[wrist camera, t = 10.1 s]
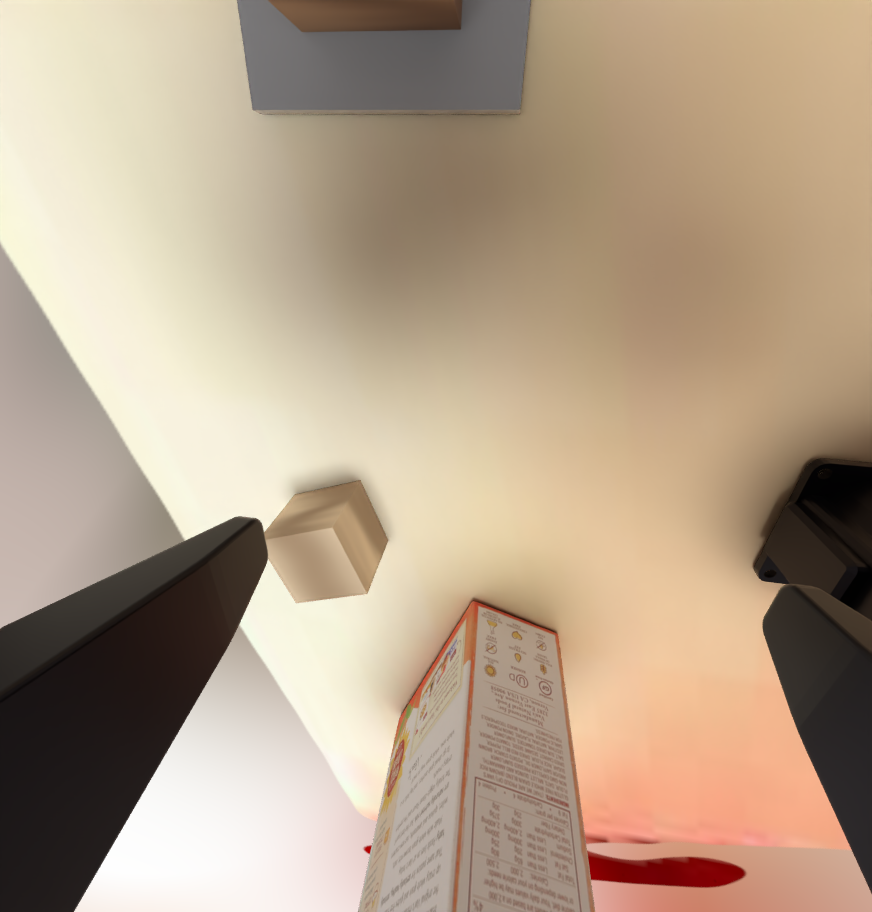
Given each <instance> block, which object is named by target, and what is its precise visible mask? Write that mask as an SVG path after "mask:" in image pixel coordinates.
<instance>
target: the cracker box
mask: <svg viewBox="0 0 872 912" xmlns="http://www.w3.org/2000/svg"><path fill="white" fill-rule="evenodd" d="M358 912H595V907H594V900H593V892H592V885H591V878H590V870H589V863H588V855H587V848H586V840H585V832H584V825H583V817H582V810H581V802H580V795H579V787H578V780H577V772H576V765H575V757H574V750H573V742H572V735H571V728H570V720H569V712H568V705H567V697H566V689H565V684H564V676H563V667H562V660H561V652H560V646H559V638H558V634H557V633H555V632H552V631H550V630H547V629H544V628H541V627H539V626H536V625H534V624H531V623H529V622H526V621H524V620H521V619H519V618H516V617H513V616H511V615H509V614H506V613H504V612H501V611H499V610H496V609H493V608H491V607H488V606H486V605H483V604H481V603H478V602H475V601H472V603H471V604H470V606H469V607H468V609H467V610H466V612H465V614H464V615H463V617H462V619H461V620H460V622H459V623H458V625H457V626H456V628H455V629H454V631H453V633H452V634H451V636H450V638H449V639H448V641H447V642H446V644H445V646H444V647H443V649H442V651H441V652H440V654H439V656H438V657H437V659H436V660H435V662H434V664H433V665H432V667H431V669H430V670H429V672H428V673H427V675H426V676H425V678H424V680H423V681H422V683H421V684H420V686H419V688H418V689H417V691H416V692H415V694H414V696H413V697H412V699H411V701H410V702H409V704H408V705H407V707H406V709H405V710H404V712H403V713H402V715H401V717H400V719H399V723H398V727H397V731H396V736H395V740H394V745H393V749H392V754H391V759H390V763H389V768H388V773H387V777H386V782H385V787H384V791H383V796H382V801H381V805H380V810H379V815H378V820H377V824H376V829H375V834H374V838H373V843H372V848H371V853H370V857H369V862H368V867H367V871H366V876H365V881H364V886H363V890H362V895H361V900H360V904H359V909H358Z"/></svg>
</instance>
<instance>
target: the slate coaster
mask: <svg viewBox="0 0 872 912" xmlns="http://www.w3.org/2000/svg"><path fill="white" fill-rule="evenodd" d="M237 3H238V10H239V17H240V24H241V31H242V38H243V45H244V52H245V59H246V66H247V73H248V80H249V87H250V94H251V101H252V108H253V110H254V111H256V112H258V113H261V114H520V107H521V96H522V86H523V76H524V65H525V55H526V45H527V34H528V24H529V14H530V4H531V0H462V19H461V30H408V31H343V32H301V31H300V30H299V29H298V28H297V27H296V26H295V25H294V24H293V23H292V22H291V21H290V20H288V19H287V18H286V17H285V16H284V15H283V14H282V13H281V12H280V11H279V10H278V9H277V8H275V7H274V6H273V5H272V4H271V3H270V2H269V1H268V0H237Z"/></svg>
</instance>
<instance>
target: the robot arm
mask: <svg viewBox="0 0 872 912" xmlns="http://www.w3.org/2000/svg"><path fill="white" fill-rule="evenodd" d="M823 469H826V470H825V471H824V472H823V473H821V474H818V473H819V472H820V471H821V470H823ZM267 560H268V549H267V545H266V540H265V535H264V531H263V526H262V523H261V522H260V520H258V519H256V518H250V517H242V516H239V517H235V518H232V519H230V520H228V521H226V522H224V523H222V524H220V525H218V526H215V527H213V528H211V529H209V530H207V531H205V532H203V533H201V534H199V535H196V536H194V537H192V538H190V539H188V540H186V541H184V542H182V543H179V544H177V545H175V546H173V547H171V548H169V549H167V550H165V551H163V552H160V553H159V554H156V555H154V556H152V557H150V558H148V559H146V560H143V561H141V562H139V563H137V564H135V565H133V566H131V567H129V568H127V569H124V570H122V571H120V572H118V573H116V574H114V575H112V576H110V577H108V578H105V579H103V580H101V581H99V582H97V583H95V584H93V585H91V586H89V587H87V588H84V589H82V590H80V591H78V592H76V593H74V594H72V595H69V596H67V597H65V598H63V599H61V600H59V601H57V602H55V603H52V604H50V605H48V606H46V607H44V608H42V609H40V610H38V611H36V612H34V613H31V614H29V615H27V616H25V617H23V618H21V619H19V620H17V621H14V622H12V623H10V624H8V625H6V626H4V627H2V628H1V629H0V912H74V911H75V909H76V907H77V906H78V904H79V902H80V900H81V899H82V897H83V895H84V893H85V892H86V890H87V888H88V886H89V885H90V883H91V881H92V880H93V878H94V876H95V875H96V873H97V871H98V869H99V868H100V866H101V864H102V862H103V861H104V859H105V857H106V856H107V854H108V852H109V850H110V849H111V847H112V845H113V844H114V842H115V840H116V838H117V837H118V835H119V833H120V831H121V830H122V828H123V826H124V825H125V823H126V821H127V820H128V818H129V816H130V814H131V813H132V811H133V809H134V807H135V806H136V804H137V802H138V800H139V799H140V797H141V795H142V794H143V792H144V790H145V789H146V787H147V785H148V783H149V782H150V780H151V778H152V777H153V775H154V773H155V771H156V770H157V768H158V766H159V765H160V763H161V761H162V759H163V757H164V756H165V754H166V753H167V751H168V749H169V747H170V746H171V744H172V742H173V740H174V739H175V737H176V735H177V734H178V732H179V730H180V728H181V727H182V725H183V723H184V722H185V720H186V718H187V716H188V715H189V713H190V711H191V710H192V708H193V706H194V704H195V703H196V701H197V699H198V697H199V696H200V694H201V692H202V690H203V689H204V687H205V685H206V683H207V682H208V680H209V679H210V677H211V675H212V673H213V672H214V670H215V668H216V667H217V665H218V663H219V661H220V660H221V658H222V656H223V654H224V653H225V651H226V649H227V647H228V646H229V644H230V642H231V640H232V638H233V636H234V634H235V632H236V630H237V628H238V626H239V624H240V622H241V619H242V617H243V615H244V613H245V611H246V608H247V606H248V604H249V602H250V600H251V597H252V595H253V593H254V591H255V589H256V586H257V584H258V582H259V580H260V578H261V575H262V573H263V571H264V569H265V566H266V564H267ZM768 570H770V571H768ZM754 571H755V573H756V575H757V576H758V577H759V579H761V580H762V581H766V582H774V583H782V584H786V585H784V586H783V587H781V589H780V590H779V592H778V593H777V595H776V597H775V599H774V600H773V602H772V604H771V606H770V607H769V609H768V611H767V613H766V614H765V616H764V619H763V633H764V636H765V639H766V642H767V645H768V648H769V651H770V654H771V656H772V659H773V662H774V665H775V668H776V671H777V674H778V677H779V680H780V683H781V685H782V688H783V691H784V694H785V697H786V700H787V703H788V706H789V709H790V712H791V714H792V717H793V720H794V722H795V725H796V727H797V730H798V732H799V735H800V737H801V739H802V742H803V744H804V746H805V749H806V751H807V753H808V755H809V757H810V760H811V762H812V764H813V766H814V768H815V771H816V773H817V775H818V777H819V779H820V781H821V784H822V786H823V788H824V790H825V792H826V795H827V797H828V799H829V801H830V803H831V806H832V808H833V810H834V812H835V814H836V817H837V819H838V821H839V823H840V825H841V827H842V830H843V832H844V834H845V836H846V838H847V841H848V843H849V845H850V847H851V849H852V852H853V854H854V856H855V858H856V860H857V863H858V865H859V867H860V869H861V871H862V873H863V875H864V878H865V880H866V882H867V884H868V886H869V889H870V891H871V893H872V463H868V462H857V461H846V460H834V459H817V460H814V461H812V462H811V463H809V464H808V466H807V467H806V468H805V470H804V472H803V474H802V476H801V478H800V480H799V482H798V484H797V486H796V487H795V489H794V491H793V493H792V495H791V497H790V499H789V501H788V503H787V505H786V506H785V508H784V510H783V511H782V513H781V515H780V517H779V519H778V521H777V523H776V525H775V527H774V529H773V531H772V533H771V535H770V537H769V539H768V540H767V542H766V544H765V546H764V549H763V551H762V553H761V555H760V557H759V559H758V561H757V563H756V565H755V567H754ZM766 571H767V572H766Z"/></svg>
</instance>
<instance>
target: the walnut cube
mask: <svg viewBox="0 0 872 912" xmlns="http://www.w3.org/2000/svg"><path fill="white" fill-rule="evenodd" d="M268 1H269V2H270V3H271V4H272V5H273V6H274V7H275V8H277V9H278V10H279V11H280V12H281V13H282V14H283V15H284V16H285V17H286V18H287V19H288V20H290V21H291V22H292V23H293V24H294V25H295V26H296V27H297V28H298V29H299V30H300V31H301V32H343V31H408V30H461V19H462V0H268Z"/></svg>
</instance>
